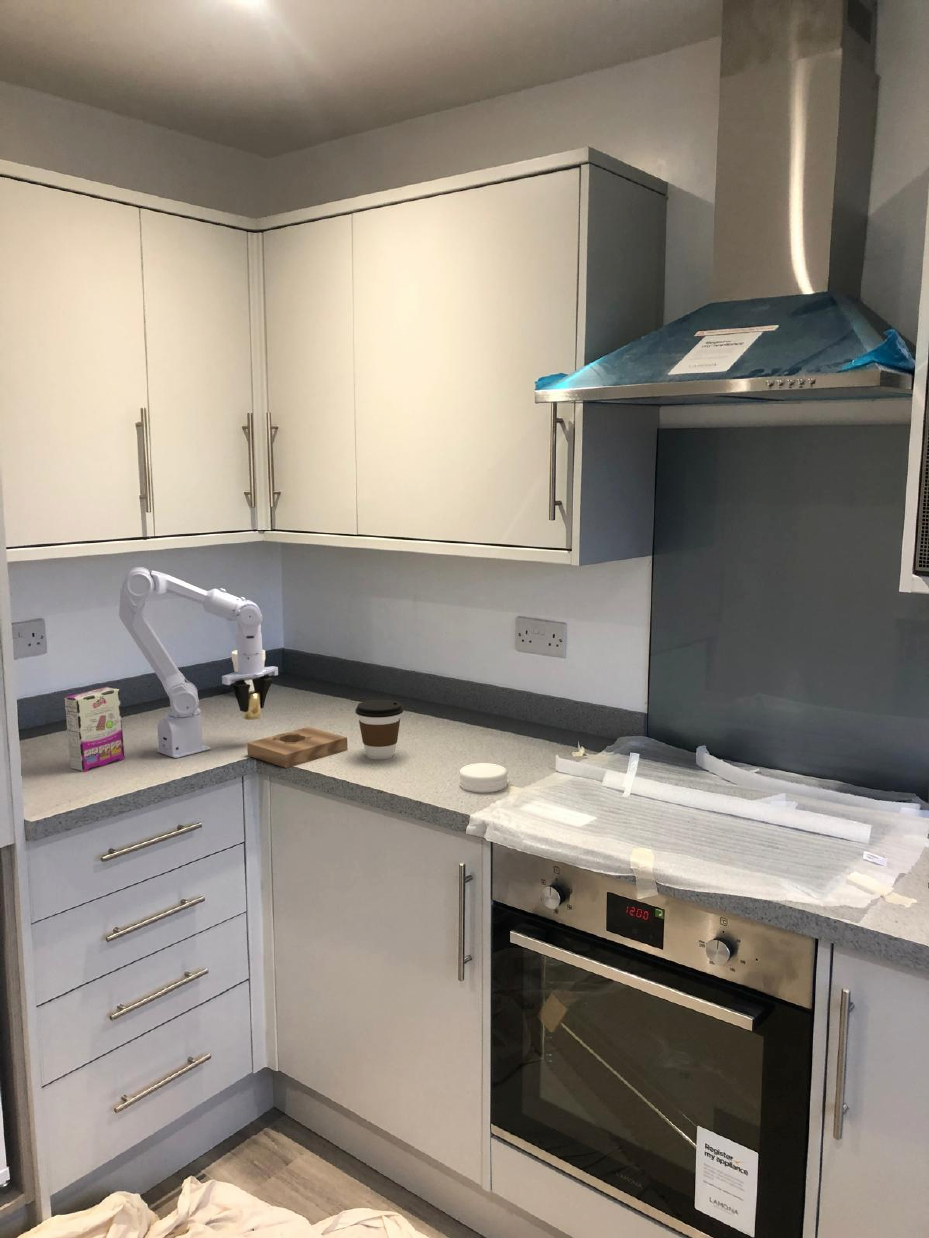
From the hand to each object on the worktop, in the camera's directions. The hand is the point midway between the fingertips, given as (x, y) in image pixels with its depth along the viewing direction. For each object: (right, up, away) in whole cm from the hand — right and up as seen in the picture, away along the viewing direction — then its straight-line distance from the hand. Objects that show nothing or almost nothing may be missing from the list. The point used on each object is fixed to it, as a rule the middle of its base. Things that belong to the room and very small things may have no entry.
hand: (251, 709), depth 230 cm
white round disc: (+54, -14, -27) cm, 62 cm away
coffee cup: (+31, -10, -7) cm, 33 cm away
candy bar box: (-32, -11, -13) cm, 36 cm away
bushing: (0, -2, 0) cm, 2 cm away
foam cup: (-11, -1, +50) cm, 51 cm away
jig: (+12, -10, -5) cm, 16 cm away
